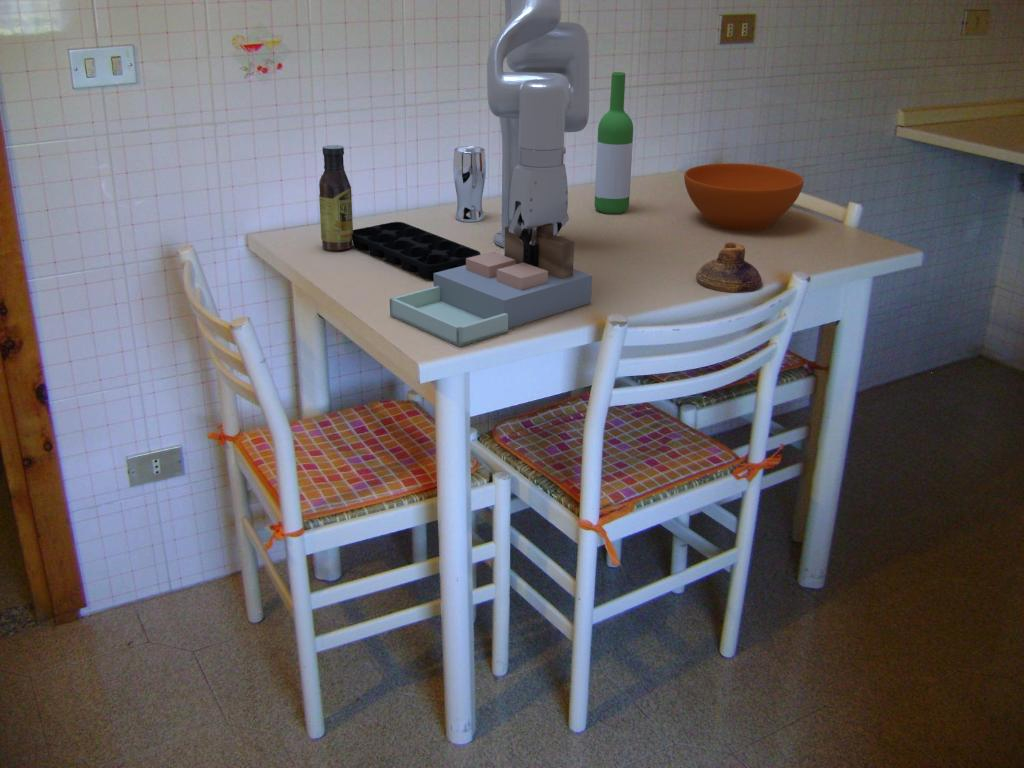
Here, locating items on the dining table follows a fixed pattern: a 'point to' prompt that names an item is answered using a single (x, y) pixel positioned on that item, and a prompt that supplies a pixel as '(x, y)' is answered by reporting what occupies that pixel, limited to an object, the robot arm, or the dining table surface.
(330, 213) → the sauce bottle
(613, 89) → the wine bottle
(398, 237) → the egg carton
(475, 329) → the tray
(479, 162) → the beer glass
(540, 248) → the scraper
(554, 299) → the board
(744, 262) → the bell
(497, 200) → the dining table surface
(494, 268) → the tile
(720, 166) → the bowl
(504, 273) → the tile
